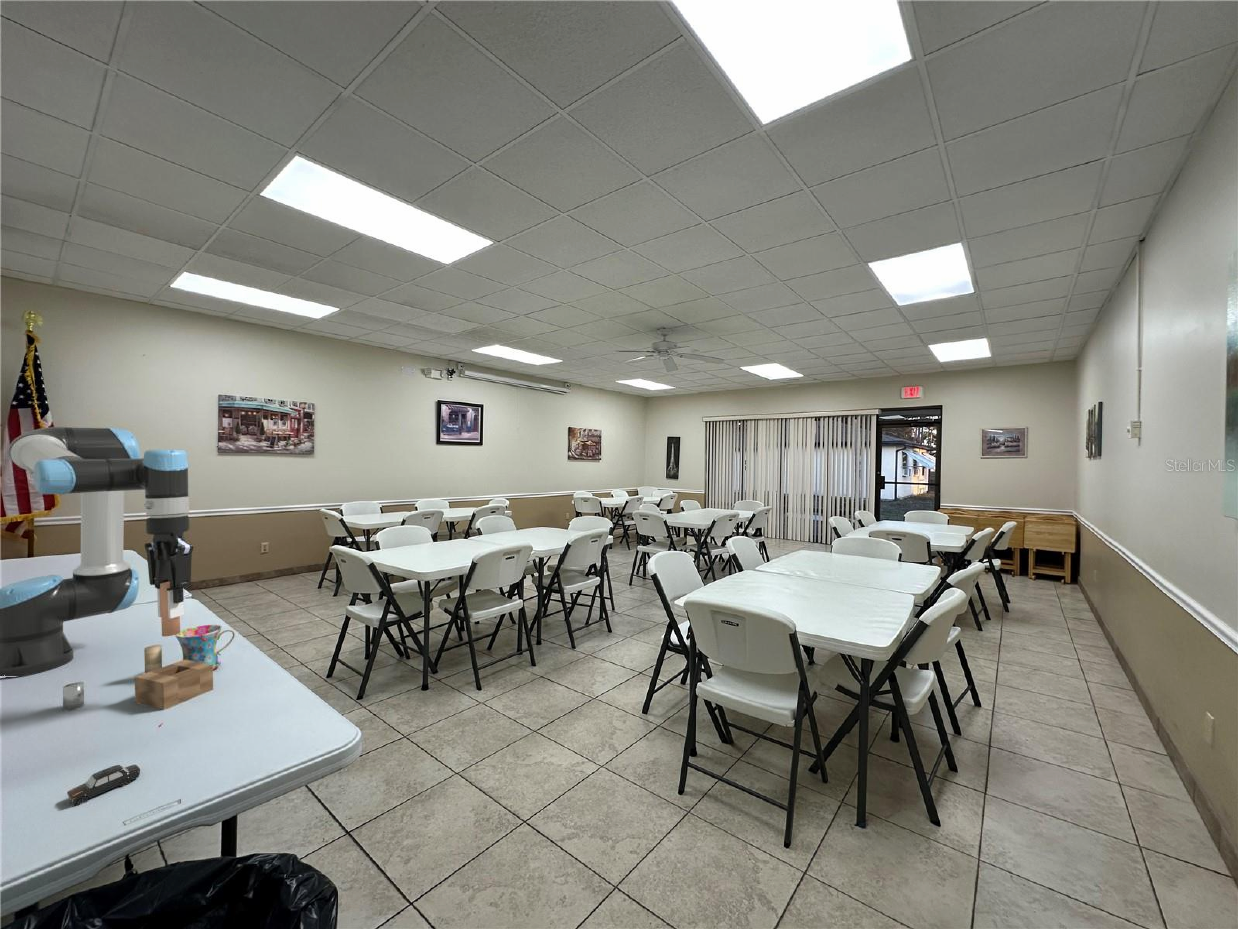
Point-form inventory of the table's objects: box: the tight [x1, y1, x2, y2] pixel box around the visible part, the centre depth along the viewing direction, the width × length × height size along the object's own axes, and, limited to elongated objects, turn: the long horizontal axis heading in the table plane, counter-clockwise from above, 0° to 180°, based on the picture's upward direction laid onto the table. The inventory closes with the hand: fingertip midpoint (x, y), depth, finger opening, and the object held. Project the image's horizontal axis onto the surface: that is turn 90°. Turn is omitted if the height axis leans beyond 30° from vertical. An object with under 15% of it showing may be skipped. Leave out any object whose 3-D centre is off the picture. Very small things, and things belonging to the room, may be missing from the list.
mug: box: [175, 624, 236, 670], centre depth 131 cm, size 12×9×11 cm
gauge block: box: [134, 659, 214, 710], centre depth 117 cm, size 10×10×6 cm
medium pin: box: [143, 644, 163, 674], centre depth 126 cm, size 3×3×8 cm
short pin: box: [62, 681, 85, 712], centre depth 112 cm, size 3×3×5 cm
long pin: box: [160, 582, 181, 637], centre depth 116 cm, size 3×3×12 cm
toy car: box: [66, 722, 164, 806], centre depth 86 cm, size 4×12×8 cm, turn 148°
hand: (171, 615), depth 116 cm, fingers closed on long pin, 3 cm apart
